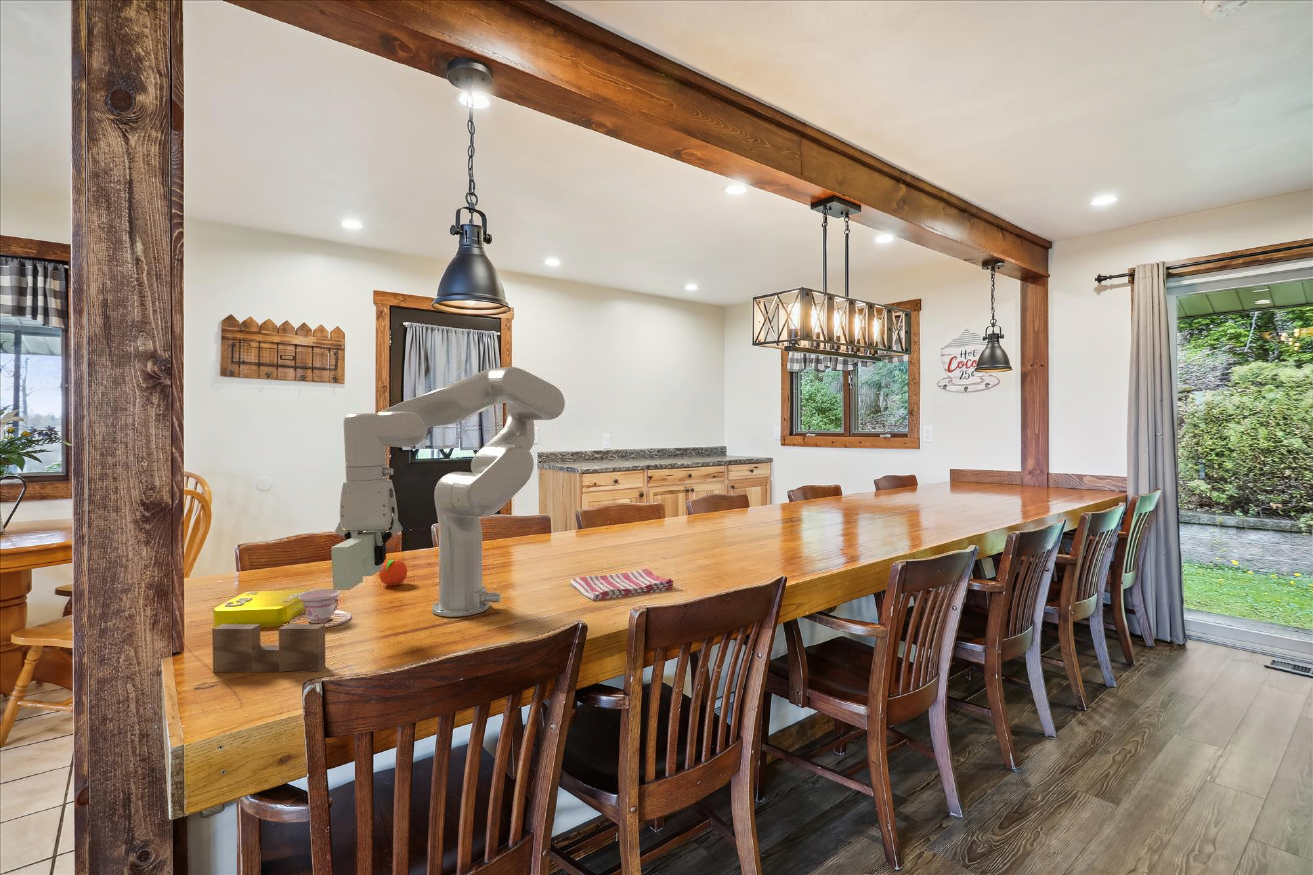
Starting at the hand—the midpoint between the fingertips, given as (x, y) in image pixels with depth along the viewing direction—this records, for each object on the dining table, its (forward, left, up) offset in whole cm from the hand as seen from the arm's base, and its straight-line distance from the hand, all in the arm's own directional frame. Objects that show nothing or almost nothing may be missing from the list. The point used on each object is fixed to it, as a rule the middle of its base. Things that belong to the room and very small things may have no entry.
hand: (370, 563), depth 129 cm
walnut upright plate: (+10, +19, -14) cm, 25 cm away
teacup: (+14, -8, -15) cm, 22 cm away
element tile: (+28, -11, -15) cm, 34 cm away
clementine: (+11, -37, -15) cm, 42 cm away
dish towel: (-50, -35, -15) cm, 63 cm away
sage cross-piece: (0, +5, -2) cm, 5 cm away
